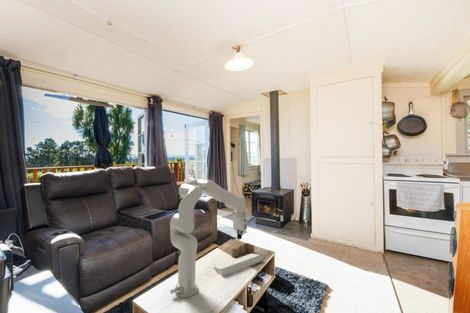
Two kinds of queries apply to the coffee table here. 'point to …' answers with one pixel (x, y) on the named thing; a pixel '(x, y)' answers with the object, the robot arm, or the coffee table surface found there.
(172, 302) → the coffee table surface
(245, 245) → the wooden corner bracket
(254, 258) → the decorative molding
